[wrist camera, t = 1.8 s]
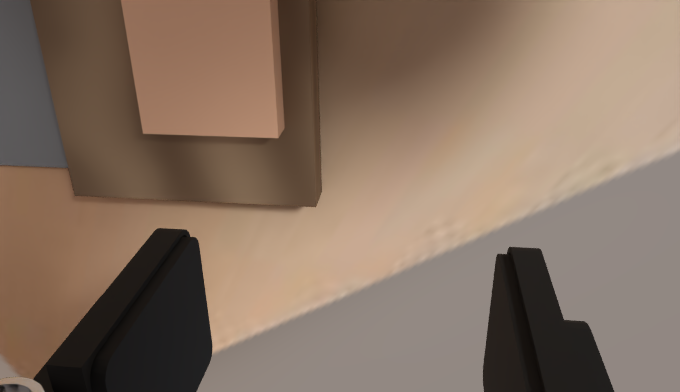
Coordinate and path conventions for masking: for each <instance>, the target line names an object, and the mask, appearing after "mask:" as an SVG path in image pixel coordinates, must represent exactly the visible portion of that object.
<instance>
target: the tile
mask: <svg viewBox="0 0 680 392" xmlns="http://www.w3.org/2000/svg"><path fill="white" fill-rule="evenodd" d="M121 4H122V10H123V16H124V22H125V28H126V34H127V40H128V46H129V52H130V58H131V64H132V70H133V76H134V82H135V88H136V94H137V100H138V106H139V112H140V118H141V124H142V130H143V134H166V135H196V136H226V137H256V138H279V136H280V135H281V133H282V131H283V130H284V128H285V125H284V108H283V90H282V72H281V55H280V37H279V19H278V1H277V0H121Z"/></svg>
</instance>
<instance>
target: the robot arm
mask: <svg viewBox="0 0 680 392" xmlns="http://www.w3.org/2000/svg"><path fill="white" fill-rule="evenodd" d="M211 356H212V339H211V331H210V324H209V316H208V309H207V301H206V294H205V286H204V279H203V271H202V264H201V256H200V249H199V243H198V240H197V238H195V237H190V234H189V232H188V231H187V230H182V229H163V228H159V229H156V230H155V231H154V232H153V234H152V235H151V236H150V237H149V239H148V240H147V241H146V242H145V244H144V245H143V246H142V247H141V248H140V250H139V251H138V252H137V253H136V255H135V256H134V257H133V258H132V259H131V261H130V262H129V263H128V264H127V266H126V267H125V268H124V269H123V270H122V272H121V273H120V274H119V275H118V277H117V278H116V279H115V280H114V282H113V283H112V284H111V285H110V286H109V288H108V289H107V290H106V291H105V293H104V294H103V295H102V296H101V297H100V298H99V299H98V300H97V302H96V303H95V304H94V305H93V306H92V308H91V309H90V310H89V311H88V313H87V314H86V315H85V316H84V318H83V319H82V320H81V321H80V322H79V324H78V325H77V326H76V327H75V329H74V330H73V331H72V332H71V333H70V335H69V336H68V337H67V338H66V340H65V341H64V342H63V343H62V344H61V346H60V347H59V348H58V349H57V351H56V352H55V353H54V354H53V355H52V357H51V358H50V359H49V360H48V362H47V363H46V364H45V365H44V366H43V368H42V369H41V370H40V371H39V373H38V374H37V375H36V376H35V377H34V379H29V378H24V377H11V378H10V377H9V378H3V379H0V392H196V391H197V389H198V387H199V384H200V382H201V380H202V378H203V376H204V374H205V372H206V370H207V367H208V365H209V363H210V360H211ZM483 386H484V392H614V390H613V387H612V385H611V382H610V379H609V377H608V374H607V372H606V369H605V366H604V363H603V361H602V358H601V355H600V353H599V350H598V348H597V345H596V342H595V340H594V337H593V334H592V332H591V329H590V327H589V326H588V324H587V323H586V322H584V321H570V320H564V319H563V316H562V313H561V310H560V307H559V304H558V300H557V297H556V294H555V291H554V288H553V285H552V282H551V279H550V276H549V273H548V270H547V267H546V264H545V260H544V257H543V254H542V251H541V249H539V248H537V249H536V248H520V247H509V248H508V252H507V254H498V255H497V257H496V264H495V272H494V280H493V289H492V297H491V306H490V314H489V322H488V331H487V340H486V349H485V356H484V365H483Z"/></svg>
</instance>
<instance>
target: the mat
mask: <svg viewBox="0 0 680 392" xmlns="http://www.w3.org/2000/svg"><path fill="white" fill-rule="evenodd" d="M0 165H12V166H36V167H60V168H68V164H67V160H66V155H65V151H64V147H63V142H62V138H61V134H60V129H59V125H58V120H57V116H56V112H55V107H54V103H53V99H52V94H51V90H50V86H49V81H48V77H47V73H46V68H45V64H44V59H43V55H42V51H41V46H40V42H39V38H38V33H37V29H36V25H35V20H34V16H33V11H32V7H31V3H30V0H0Z"/></svg>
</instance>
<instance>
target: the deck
mask: <svg viewBox="0 0 680 392" xmlns="http://www.w3.org/2000/svg"><path fill="white" fill-rule="evenodd" d="M277 1H278V19H279V37H280V55H281V72H282V90H283V108H284V125H285V128H284V130H283V131H282V133H281V135H280V136H279V138H256V137H226V136H196V135H166V134H143V130H142V124H141V118H140V112H139V106H138V100H137V94H136V88H135V82H134V76H133V70H132V64H131V58H130V52H129V46H128V40H127V34H126V28H125V22H124V16H123V10H122V4H121V0H30V3H31V7H32V11H33V16H34V20H35V25H36V29H37V33H38V38H39V42H40V46H41V51H42V55H43V59H44V64H45V68H46V73H47V77H48V81H49V86H50V90H51V94H52V99H53V103H54V107H55V112H56V116H57V120H58V125H59V129H60V134H61V138H62V142H63V147H64V151H65V155H66V160H67V164H68V168H69V173H70V177H71V181H72V186H73V190H74V195H75V196H92V197H113V198H135V199H156V200H177V201H198V202H220V203H241V204H262V205H283V206H305V207H316V206H317V203H318V200H319V197H320V195H321V192H322V183H321V149H320V116H319V82H318V48H317V14H316V0H277Z"/></svg>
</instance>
